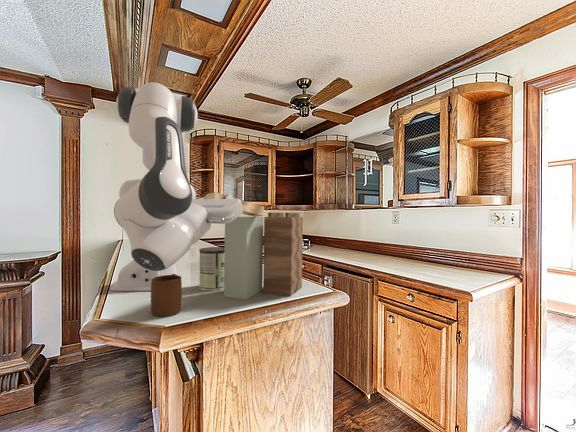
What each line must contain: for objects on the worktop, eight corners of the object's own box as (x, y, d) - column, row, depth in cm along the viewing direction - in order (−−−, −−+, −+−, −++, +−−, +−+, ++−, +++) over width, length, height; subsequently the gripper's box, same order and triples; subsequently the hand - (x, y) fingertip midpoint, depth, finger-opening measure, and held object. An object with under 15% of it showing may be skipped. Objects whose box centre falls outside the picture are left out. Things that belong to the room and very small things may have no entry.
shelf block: (245, 299, 88) (246, 216, 88) (224, 296, 91) (225, 216, 91) (262, 289, 100) (263, 216, 99) (242, 287, 102) (243, 216, 102)
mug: (162, 303, 84) (162, 271, 84) (188, 302, 85) (188, 271, 84) (146, 318, 72) (146, 281, 72) (176, 317, 73) (177, 280, 73)
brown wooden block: (290, 296, 93) (292, 212, 92) (263, 292, 96) (264, 212, 96) (301, 287, 104) (302, 213, 104) (276, 284, 107) (277, 212, 107)
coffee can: (205, 283, 108) (205, 246, 108) (231, 284, 107) (232, 247, 107) (193, 290, 98) (194, 250, 98) (222, 291, 97) (223, 250, 97)
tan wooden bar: (214, 203, 76) (215, 192, 77) (205, 204, 79) (206, 194, 79) (263, 215, 92) (264, 206, 93) (255, 216, 94) (255, 208, 95)
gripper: (224, 210, 65) (249, 185, 76) (155, 209, 72) (188, 187, 83) (231, 233, 68) (254, 206, 79) (165, 230, 75) (194, 206, 86)
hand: (220, 196), depth 81 cm, fingers closed on tan wooden bar, 5 cm apart
